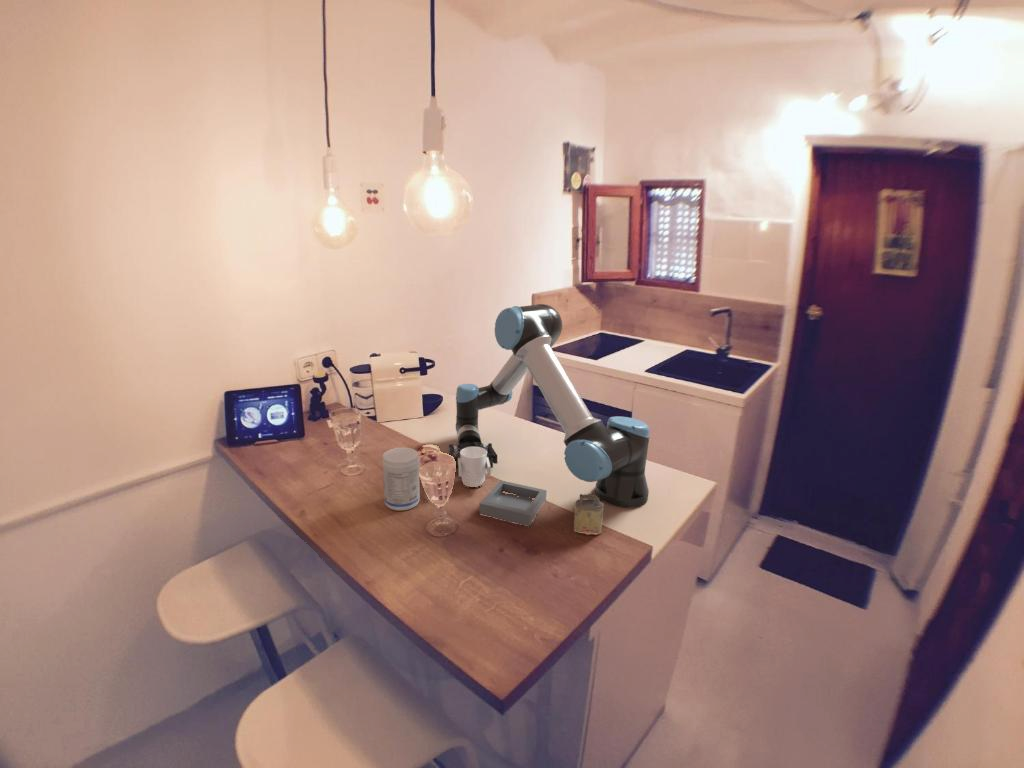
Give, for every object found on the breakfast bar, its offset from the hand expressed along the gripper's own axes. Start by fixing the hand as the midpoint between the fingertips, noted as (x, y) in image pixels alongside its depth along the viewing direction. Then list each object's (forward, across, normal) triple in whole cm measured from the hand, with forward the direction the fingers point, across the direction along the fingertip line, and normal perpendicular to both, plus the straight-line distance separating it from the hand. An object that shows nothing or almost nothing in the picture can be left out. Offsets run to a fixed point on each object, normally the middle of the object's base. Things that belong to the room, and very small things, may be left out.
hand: (474, 471), depth 141 cm
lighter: (+23, -27, -7) cm, 36 cm away
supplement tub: (+4, +20, -7) cm, 22 cm away
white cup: (-5, 0, -6) cm, 8 cm away
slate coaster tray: (+10, -10, -7) cm, 16 cm away
